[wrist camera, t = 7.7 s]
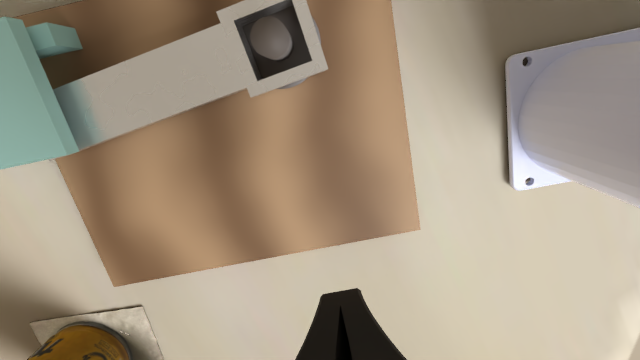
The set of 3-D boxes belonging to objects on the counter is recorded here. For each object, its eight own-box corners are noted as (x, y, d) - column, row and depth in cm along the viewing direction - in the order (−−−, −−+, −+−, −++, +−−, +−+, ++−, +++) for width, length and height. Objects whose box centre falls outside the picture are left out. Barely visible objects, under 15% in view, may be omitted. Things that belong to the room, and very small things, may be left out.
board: (377, -62, 17) (397, -112, 12) (414, 221, 21) (439, 257, 17) (13, 26, 18) (-85, 9, 13) (124, 276, 22) (78, 323, 18)
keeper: (89, 29, 18) (16, 13, 13) (130, 136, 20) (77, 153, 15) (-10, 53, 18) (-113, 45, 14) (39, 156, 20) (-39, 177, 16)
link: (301, -12, 16) (299, -22, 14) (327, 70, 17) (328, 68, 15) (36, 93, 17) (8, 94, 16) (76, 162, 18) (54, 169, 17)
